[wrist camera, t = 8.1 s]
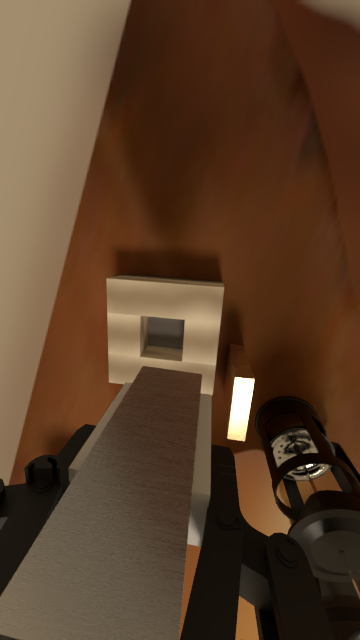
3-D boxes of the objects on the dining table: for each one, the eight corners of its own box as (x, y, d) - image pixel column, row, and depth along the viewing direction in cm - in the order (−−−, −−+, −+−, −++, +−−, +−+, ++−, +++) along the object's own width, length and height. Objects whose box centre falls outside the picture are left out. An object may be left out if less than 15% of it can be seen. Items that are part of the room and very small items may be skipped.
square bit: (195, 425, 17) (161, 775, 6) (140, 416, 18) (3, 726, 6) (202, 374, 16) (175, 681, 5) (142, 365, 16) (-20, 628, 5)
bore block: (212, 373, 37) (212, 395, 32) (124, 363, 39) (109, 382, 33) (222, 281, 34) (224, 287, 28) (124, 274, 35) (106, 278, 29)
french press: (243, 437, 40) (281, 667, 18) (260, 388, 37) (330, 585, 15) (316, 457, 39) (451, 723, 17) (339, 408, 36) (535, 647, 14)
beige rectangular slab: (236, 393, 38) (244, 441, 28) (223, 392, 38) (227, 438, 28) (243, 345, 36) (254, 379, 26) (229, 344, 36) (235, 377, 26)
